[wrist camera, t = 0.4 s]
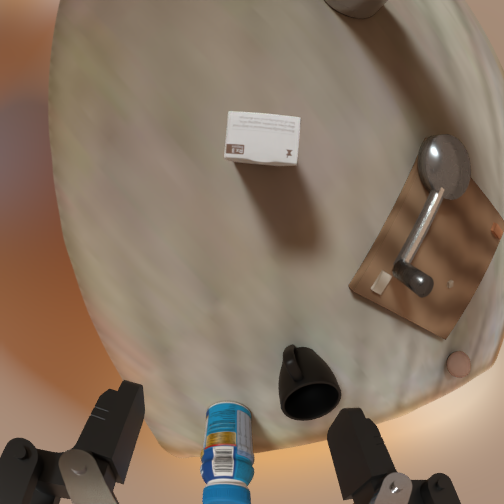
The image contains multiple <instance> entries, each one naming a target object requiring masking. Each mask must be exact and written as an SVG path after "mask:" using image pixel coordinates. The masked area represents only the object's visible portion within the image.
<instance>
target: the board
mask: <svg viewBox="0 0 504 504" xmlns="http://www.w3.org/2000/svg"><path fill="white" fill-rule="evenodd" d="M426 139H427V138H425V140H426ZM425 140H424V141H425ZM428 196H429V192H428V191H427V189H426V188H425V187H424V185H423V183H422V181H421V179H420V176H419V172H418V156H417V158H416V161H415V163H414V165H413V167H412V170H411V172H410V174H409V176H408V178H407V180H406V182H405V185H404V187H403V189H402V191H401V193H400V195H399V197H398V199H397V201H396V203H395V205H394V207H393V209H392V211H391V213H390V215H389V216H388V218H387V220H386V222H385V224H384V226H383V228H382V230H381V231H380V233H379V235H378V237H377V239H376V240H375V242H374V244H373V246H372V247H371V249H370V251H369V253H368V254H367V256H366V258H365V259H364V261H363V263H362V265H361V266H360V268H359V270H358V271H357V273H356V274H355V276H354V278H353V279H352V281H351V283H350V284H349V287H350V288H351V289H352V290H353V292H355V293H357V294H359V295H361V296H363V297H365V298H367V299H369V300H371V301H373V302H375V303H377V304H379V305H380V306H382V307H384V308H386V309H388V310H390V311H392V312H394V313H396V314H398V315H400V316H402V317H404V318H405V319H407V320H409V321H411V322H413V323H415V324H417V325H419V326H421V327H423V328H424V329H426V330H428V331H430V332H432V333H434V334H436V335H438V336H440V337H441V338H443V339H445V340H446V338H447V337H448V335H449V334H450V332H451V331H452V329H453V328H454V326H455V325H456V323H457V322H458V320H459V319H460V317H461V315H462V314H463V312H464V310H465V309H466V307H467V305H468V304H469V302H470V300H471V299H472V297H473V295H474V293H475V291H476V290H477V288H478V286H479V284H480V282H481V280H482V278H483V276H484V274H485V272H486V270H487V268H488V266H489V264H490V262H491V260H492V258H493V255H494V253H495V251H496V249H497V246H498V244H499V242H500V239H501V237H502V234H503V232H504V220H503V219H502V217H501V216H500V215H499V213H498V212H497V210H496V209H495V208H494V206H493V205H492V203H491V202H490V201H489V199H488V198H487V197H486V196H485V194H484V193H483V192H482V190H481V189H480V188H479V187H478V185H477V184H476V183H475V182H474V181H473V179H472V178H471V177H470V182H469V185H468V187H467V189H466V191H465V193H464V194H463V195H462V196H461V197H459V198H457V199H454V200H449V199H444V198H443V200H442V202H441V205H440V207H439V209H438V211H437V213H436V215H435V217H434V220H433V222H432V224H431V226H430V228H429V230H428V232H427V234H426V236H425V238H424V239H423V241H422V243H421V245H420V247H419V249H418V251H417V253H416V254H415V256H414V258H413V260H412V261H411V263H410V264H411V265H413V266H414V267H416V268H418V269H419V270H421V271H422V272H424V273H425V274H427V275H429V276H430V277H432V279H433V281H434V286H433V289H432V291H431V293H430V294H429V295H428V296H426V297H423V298H421V297H419V296H418V295H417V294H415V293H414V292H413V291H412V290H410V289H409V288H408V287H406V286H405V285H404V284H403V283H401V282H400V281H399V280H397V279H396V278H395V277H394V276H393V273H392V270H393V267H394V265H393V263H394V261H395V259H396V258H397V256H398V254H399V252H400V251H401V249H402V247H403V245H404V243H405V242H406V240H407V238H408V236H409V234H410V232H411V230H412V228H413V226H414V224H415V223H416V221H417V219H418V217H419V215H420V212H421V210H422V208H423V206H424V204H425V202H426V200H427V198H428Z"/></svg>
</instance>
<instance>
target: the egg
mask: <svg viewBox="0 0 504 504" xmlns="http://www.w3.org/2000/svg"><path fill="white" fill-rule="evenodd" d="M447 369H448V371H449V372H450V373H451V374H452V375H453V376H455V377H460V378H462V377H465V376H466V375H468V373H469V372H470V369H471V363H470V359H469V357H468V356H467V355H466V354H465V353H464V352H462V351H456V352H453V353H452V354H451V355H450V356H449V357H448V360H447Z"/></svg>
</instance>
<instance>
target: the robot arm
mask: <svg viewBox="0 0 504 504" xmlns="http://www.w3.org/2000/svg"><path fill="white" fill-rule="evenodd" d="M325 1H326V2H327V4H328V5H330V6H331V7H332V8H333V9H335V10H337V11H338V12H340V13H342V14H344V15H347V16H350V17H354V18H368V17H371V16H372V15H373V14H375V13H376V12H377V11H378V9H379V8H380V7H381V6H382V5H384V4H385V3H386V2H387V1H388V0H325ZM144 414H145V405H144V394H143V386H142V385H141V384H137V383H133V382H130V381H126V380H124V381H123V382H122V383H121V385H120V387H119V390H118V391H115V390H112V389H108V390H107V391H106V392H104V393H103V394H102V395H101V396H100V397H99V399H98V401H97V403H96V405H95V408H94V409H93V411H92V413H91V416H89V419H88V420H87V422H86V425H85V427H84V429H83V431H82V433H81V435H80V437H79V439H78V441H77V443H76V445H75V446H74V447H73V448H72V449H70V450H67V451H65V452H62V453H57V452H56V453H55V452H50V451H45V450H40V449H36V448H35V446H34V445H33V444H32V443H31V442H30V441H28V440H26V439H24V438H14V439H12V440H10V441H9V442H8V443H7V445H6V447H5V449H4V451H3V453H2V455H1V457H0V504H59V502H60V498H67V499H71V501H72V503H73V504H119V502H118V500H117V498H116V497H115V495H114V493H113V489H114V486H115V483H116V482H118V483H121V484H124V481H125V478H126V474H127V471H128V467H129V464H130V461H131V458H132V454H133V451H134V448H135V444H136V441H137V438H138V435H139V432H140V429H141V426H142V423H143V419H144ZM327 441H328V445H329V448H330V452H331V456H332V459H333V463H334V467H335V471H336V474H337V478H338V481H339V486H340V489H341V493H342V497H343V500H348V499H353V501H354V503H353V504H461V503H460V500H459V498H458V496H457V493H456V491H455V489H454V486H453V484H452V481H451V479H450V478H449V477H448V476H447V475H445V474H443V473H437V474H434V475H432V476H431V477H430V478H429V479H428V480H410V479H409V477H408V476H406V475H405V474H403V473H398V472H397V471H396V469H395V467H394V464H393V462H392V460H391V457H390V455H389V453H388V450H387V448H386V446H385V445H384V441H383V439H382V437H381V435H380V432H379V430H378V428H377V426H376V425H375V424H374V423H373V422H372V421H371V420H370V419H369V418H367V419H366V418H365V416H364V413H363V411H362V410H361V409H360V408H343V409H342V410H341V411H340V412H339V414H338V416H337V417H336V419H335V420H334V422H333V423H332V425H331V427H330V428H329V430H328V434H327Z"/></svg>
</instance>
